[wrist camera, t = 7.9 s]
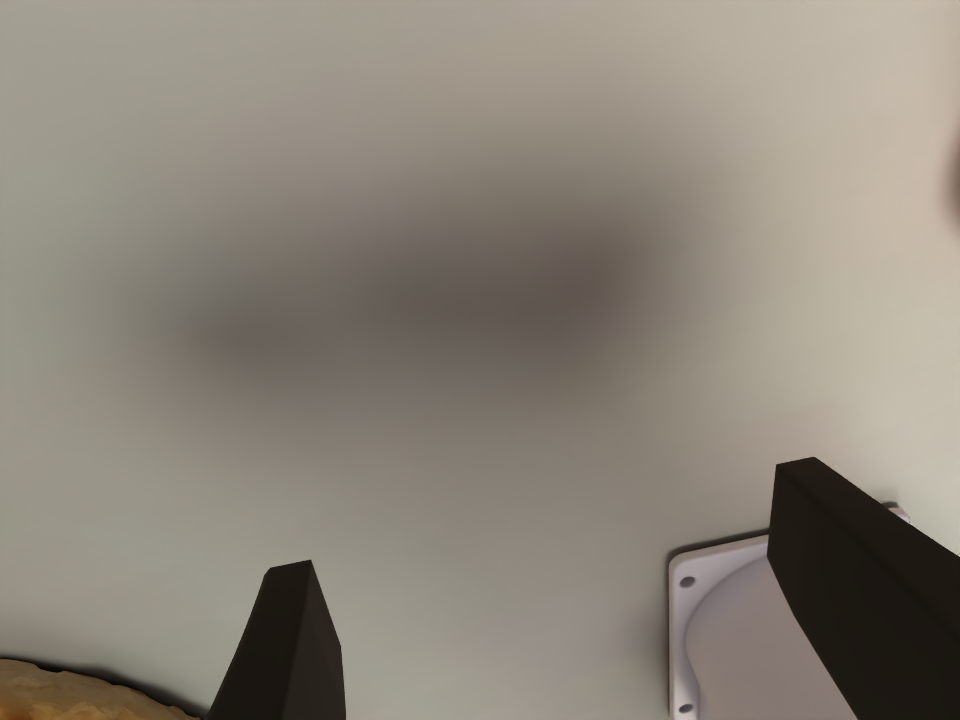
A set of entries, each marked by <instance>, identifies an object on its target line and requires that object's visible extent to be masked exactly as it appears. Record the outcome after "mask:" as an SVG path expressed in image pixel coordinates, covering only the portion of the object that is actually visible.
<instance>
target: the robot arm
mask: <svg viewBox="0 0 960 720" xmlns="http://www.w3.org/2000/svg"><path fill="white" fill-rule="evenodd" d="M669 672H670V720H960V557H959V556H957V555H956V554H954V553H953V552H951V551H949V550H948V549H946V548H945V547H943V546H942V545H940V544H939V543H937V542H936V541H934V540H933V539H931V538H930V537H928V536H927V535H925V534H924V533H922V532H921V531H919V530H918V529H916V528H915V527H913V526H912V525H910V517H909V516H908V515H907V514H906V512H905V511H904V510H903V509H902V508H899V507H893V508H886V507H885V506H883V505H882V504H880V503H879V502H878V501H876V500H875V499H873V498H872V497H870V496H869V495H868V494H866V493H865V492H863V491H862V490H861V489H859V488H858V487H856V486H855V485H854V484H852V483H851V482H849V481H848V480H847V479H845V478H844V477H842V476H841V475H840V474H838V473H837V472H835V471H834V470H833V469H831V468H830V467H828V466H827V465H826V464H824V463H823V462H821V461H820V460H818V459H817V458H815V457H810V458H805V459H800V460H795V461H790V462H786V463H781V464H776V471H775V481H774V490H773V499H772V509H771V518H770V528H769V534H768V535H763V536H759V537H754V538H749V539H745V540H740V541H736V542H731V543H726V544H722V545H717V546H713V547H708V548H703V549H699V550H694V551H690V552H685V553H682V554H679V555H677V556H676V557H674V558H673V559H672V561H671V562H670V564H669ZM205 720H346V707H345V692H344V679H343V666H342V654H341V645H340V642H339V639H338V637H337V634H336V631H335V628H334V625H333V622H332V619H331V616H330V613H329V610H328V608H327V605H326V602H325V599H324V596H323V593H322V590H321V587H320V584H319V581H318V579H317V576H316V573H315V570H314V567H313V564H312V561H311V560H306V561H301V562H296V563H291V564H287V565H282V566H277V567H272V568H270V569H269V570H268V571H267V572H266V574H265V575H264V578H263V581H262V584H261V587H260V590H259V593H258V596H257V598H256V601H255V604H254V607H253V609H252V612H251V615H250V617H249V620H248V623H247V625H246V628H245V630H244V633H243V635H242V638H241V640H240V643H239V645H238V648H237V650H236V652H235V655H234V657H233V659H232V662H231V664H230V666H229V668H228V671H227V673H226V675H225V677H224V680H223V682H222V684H221V686H220V689H219V691H218V693H217V695H216V698H215V700H214V702H213V704H212V706H211V708H210V710H209V713H208V715H207V717H206V719H205Z"/></svg>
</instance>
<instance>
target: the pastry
mask: <svg viewBox="0 0 960 720" xmlns="http://www.w3.org/2000/svg"><path fill="white" fill-rule="evenodd" d="M0 720H200V719H199V717H196V718H194V717H190V716H187V715H186V714H185V713H184V712H183V710H181V709H180V708H178V707H176V706H174V705H173V706H170V707H168V706H164V705H162V704H160V703H158V702H156V701H154V700H152V699H150V698H148V697H147V696H146V695H145V694H144V693H143V692H142V691H137V690H133V689H131V688H128V687H126V686H123V685H111V684H110V683H109V682H107V681H104V680H101V679H98V678H95V677H91V676H85V675H79V674H75V673H72V672H68V671H62V672H59V673H53V672H49V671H44V670H41V669H38V667H37V666H36V665H34V664H31V663H26V662H21V661H17V660H9V659H0Z"/></svg>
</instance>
